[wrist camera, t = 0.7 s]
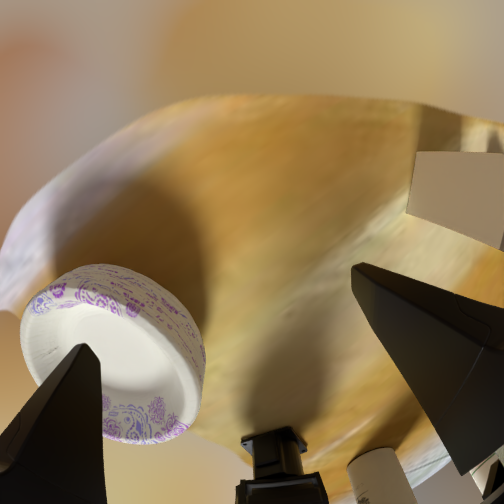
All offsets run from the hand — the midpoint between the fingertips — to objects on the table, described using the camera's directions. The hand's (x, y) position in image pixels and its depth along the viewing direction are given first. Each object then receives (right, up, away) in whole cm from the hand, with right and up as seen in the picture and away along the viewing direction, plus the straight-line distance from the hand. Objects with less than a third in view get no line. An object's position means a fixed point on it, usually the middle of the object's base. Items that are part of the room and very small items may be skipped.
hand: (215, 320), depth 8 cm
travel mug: (+19, -30, +25) cm, 44 cm away
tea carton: (+17, +8, +13) cm, 23 cm away
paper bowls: (-10, -5, +16) cm, 20 cm away
